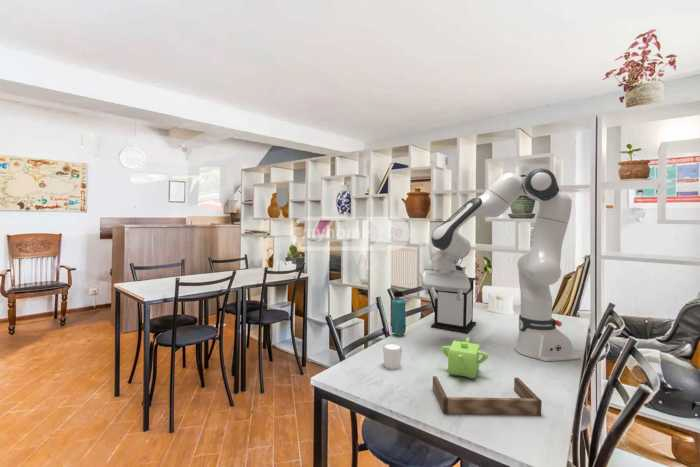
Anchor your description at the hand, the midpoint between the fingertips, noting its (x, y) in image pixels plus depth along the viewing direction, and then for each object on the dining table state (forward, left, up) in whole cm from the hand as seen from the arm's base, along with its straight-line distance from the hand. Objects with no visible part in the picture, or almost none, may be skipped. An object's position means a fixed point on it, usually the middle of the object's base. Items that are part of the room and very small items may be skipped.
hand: (447, 299), depth 144 cm
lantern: (-11, -32, -21) cm, 40 cm away
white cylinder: (+24, +16, -21) cm, 35 cm away
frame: (0, +40, -21) cm, 45 cm away
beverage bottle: (+18, -17, -21) cm, 32 cm away
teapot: (0, +21, -21) cm, 30 cm away
